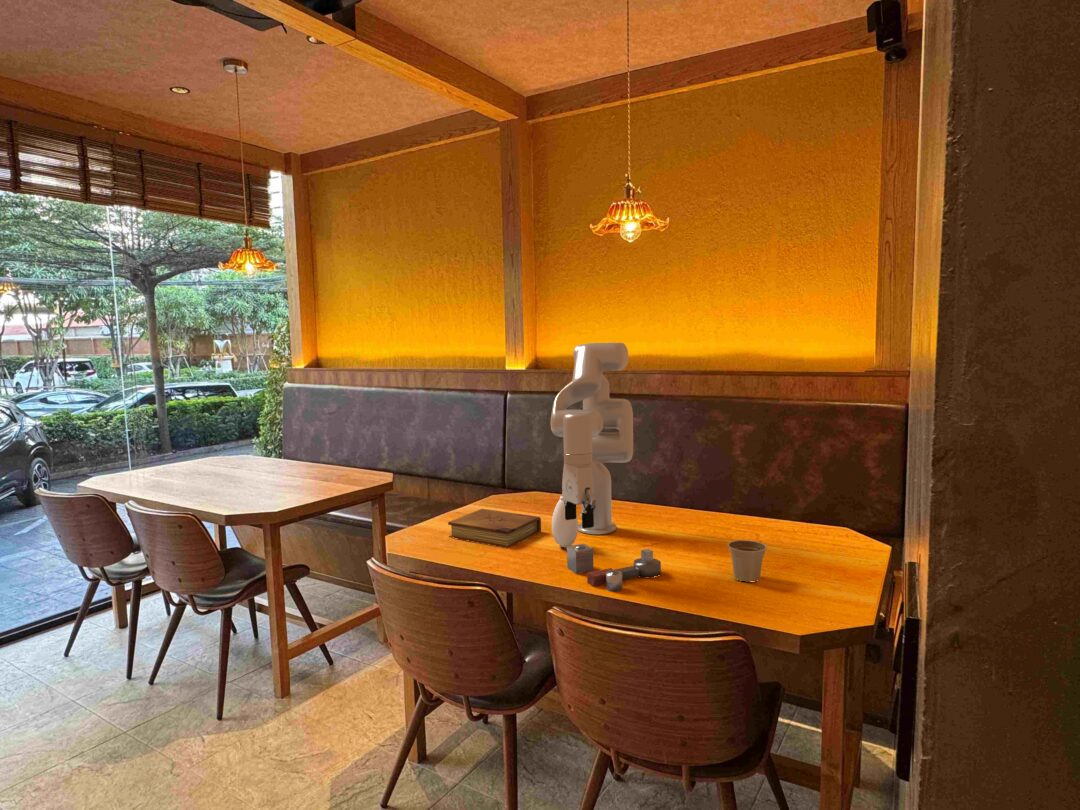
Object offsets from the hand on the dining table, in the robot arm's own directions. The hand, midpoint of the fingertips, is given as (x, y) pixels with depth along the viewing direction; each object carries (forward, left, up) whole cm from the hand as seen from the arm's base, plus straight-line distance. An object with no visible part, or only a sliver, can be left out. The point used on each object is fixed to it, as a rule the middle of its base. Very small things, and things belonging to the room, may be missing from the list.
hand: (579, 523), depth 174 cm
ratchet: (+11, +8, -13) cm, 18 cm away
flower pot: (+26, +34, -13) cm, 45 cm away
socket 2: (+16, +1, -13) cm, 20 cm away
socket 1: (0, 0, -13) cm, 13 cm away
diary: (-41, -9, -14) cm, 44 cm away
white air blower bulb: (-19, +5, -13) cm, 24 cm away
